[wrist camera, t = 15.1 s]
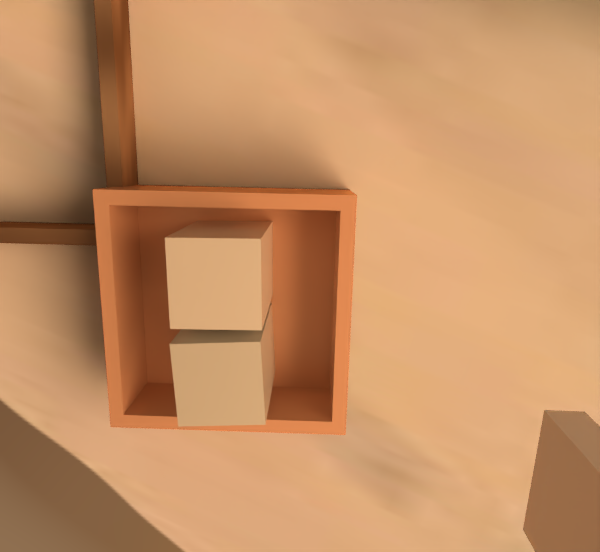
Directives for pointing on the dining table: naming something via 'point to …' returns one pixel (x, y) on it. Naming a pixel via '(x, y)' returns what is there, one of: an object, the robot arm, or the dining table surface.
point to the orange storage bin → (285, 302)
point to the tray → (115, 127)
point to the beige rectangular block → (223, 375)
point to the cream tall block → (220, 275)
